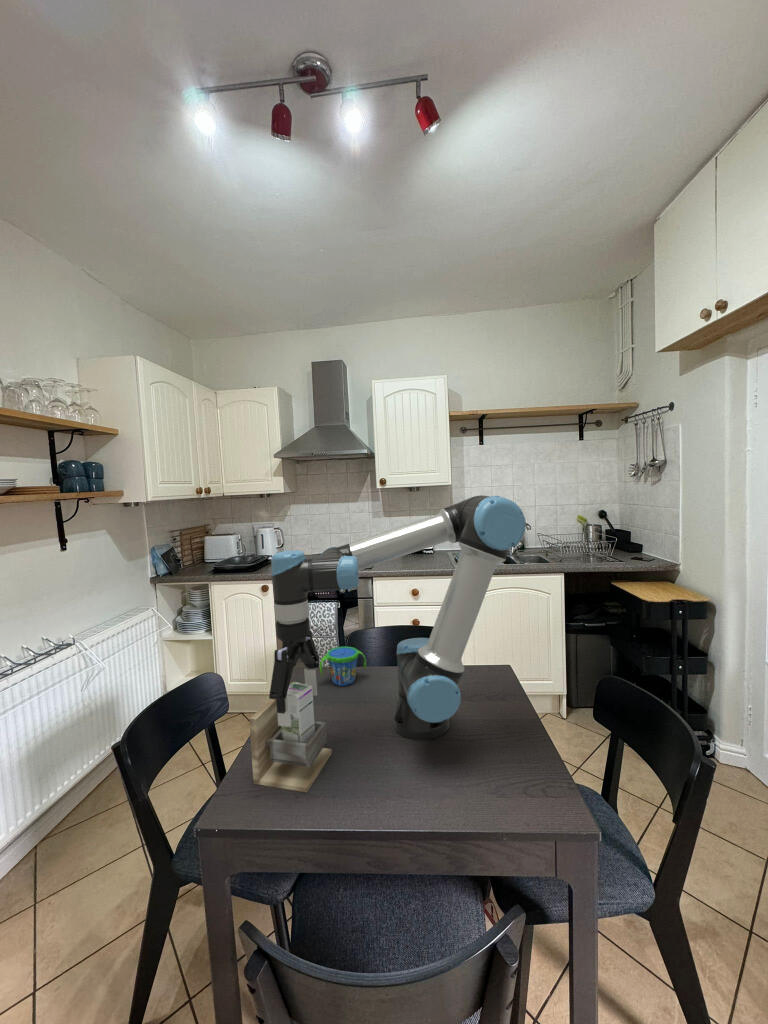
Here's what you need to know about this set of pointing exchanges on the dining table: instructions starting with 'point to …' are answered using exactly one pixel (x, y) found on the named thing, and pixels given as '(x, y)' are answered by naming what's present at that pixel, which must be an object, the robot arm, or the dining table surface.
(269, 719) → the wooden caddy with bin
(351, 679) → the snack cup
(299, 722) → the syrup box
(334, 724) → the dining table surface
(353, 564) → the robot arm
